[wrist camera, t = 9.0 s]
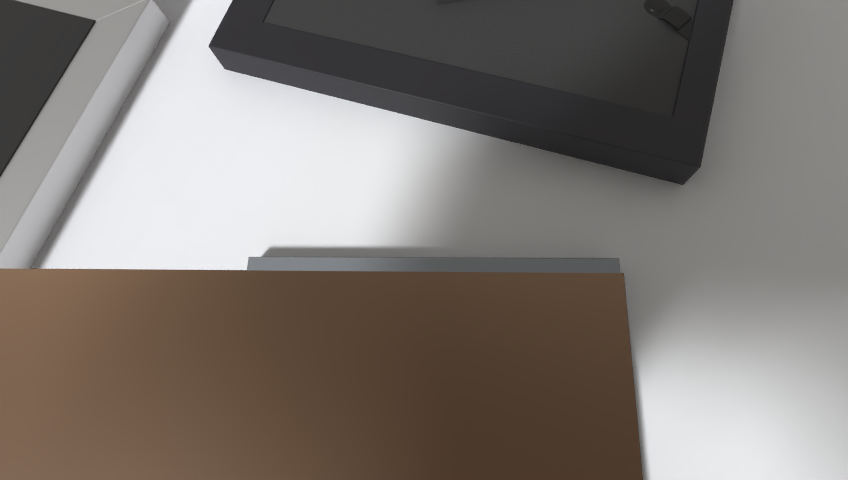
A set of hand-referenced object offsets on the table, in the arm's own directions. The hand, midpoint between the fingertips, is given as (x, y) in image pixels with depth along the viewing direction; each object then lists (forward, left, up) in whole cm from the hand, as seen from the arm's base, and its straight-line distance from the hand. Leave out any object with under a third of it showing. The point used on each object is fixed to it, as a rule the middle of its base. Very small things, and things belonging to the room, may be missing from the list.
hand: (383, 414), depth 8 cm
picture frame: (+15, +7, -9) cm, 19 cm away
